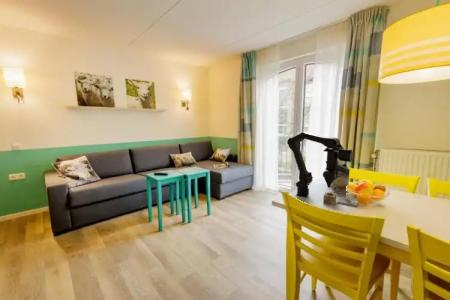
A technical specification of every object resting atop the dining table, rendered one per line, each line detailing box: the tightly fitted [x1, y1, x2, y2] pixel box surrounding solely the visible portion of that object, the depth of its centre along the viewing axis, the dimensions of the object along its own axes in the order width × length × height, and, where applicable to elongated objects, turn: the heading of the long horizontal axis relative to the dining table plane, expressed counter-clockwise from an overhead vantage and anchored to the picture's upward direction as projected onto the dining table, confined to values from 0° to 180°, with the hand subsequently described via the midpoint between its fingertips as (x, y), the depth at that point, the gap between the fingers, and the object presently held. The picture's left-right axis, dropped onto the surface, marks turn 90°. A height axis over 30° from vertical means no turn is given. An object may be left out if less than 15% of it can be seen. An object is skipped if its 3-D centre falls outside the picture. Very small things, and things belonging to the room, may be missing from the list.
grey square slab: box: [336, 192, 359, 208], centre depth 128 cm, size 10×10×5 cm
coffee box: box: [332, 168, 351, 195], centre depth 145 cm, size 9×6×16 cm
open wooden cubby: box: [322, 191, 337, 206], centre depth 128 cm, size 6×6×6 cm
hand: (330, 185), depth 127 cm, fingers open, 9 cm apart
